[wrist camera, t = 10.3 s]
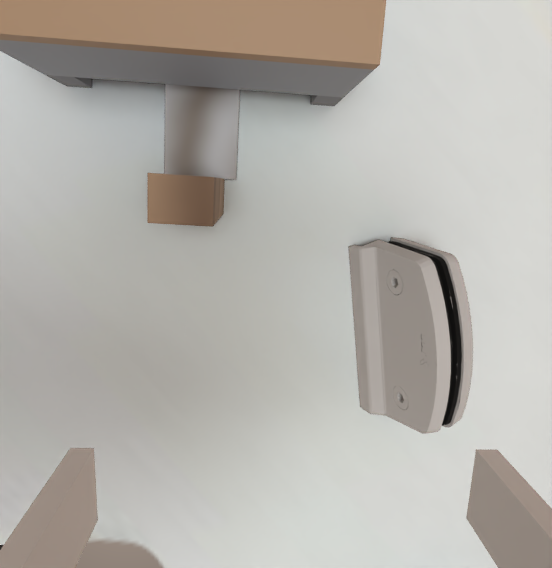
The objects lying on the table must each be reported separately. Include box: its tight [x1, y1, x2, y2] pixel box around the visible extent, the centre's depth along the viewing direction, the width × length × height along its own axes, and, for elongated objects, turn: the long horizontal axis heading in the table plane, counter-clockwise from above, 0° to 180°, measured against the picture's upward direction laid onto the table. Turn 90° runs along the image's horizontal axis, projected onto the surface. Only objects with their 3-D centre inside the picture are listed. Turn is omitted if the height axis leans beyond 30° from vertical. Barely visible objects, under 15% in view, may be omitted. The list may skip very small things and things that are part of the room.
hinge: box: [349, 237, 473, 433], centre depth 40 cm, size 17×5×10 cm, turn 6°
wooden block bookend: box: [148, 84, 240, 226], centre depth 32 cm, size 6×20×12 cm, turn 176°
